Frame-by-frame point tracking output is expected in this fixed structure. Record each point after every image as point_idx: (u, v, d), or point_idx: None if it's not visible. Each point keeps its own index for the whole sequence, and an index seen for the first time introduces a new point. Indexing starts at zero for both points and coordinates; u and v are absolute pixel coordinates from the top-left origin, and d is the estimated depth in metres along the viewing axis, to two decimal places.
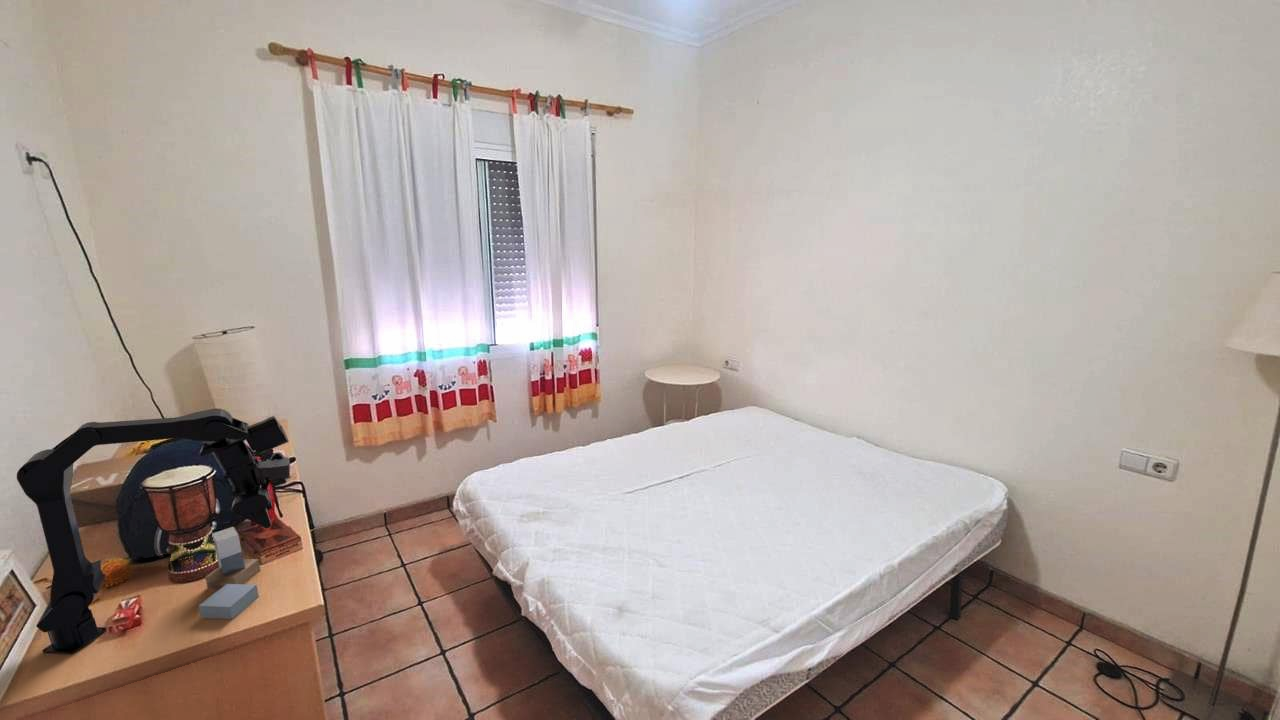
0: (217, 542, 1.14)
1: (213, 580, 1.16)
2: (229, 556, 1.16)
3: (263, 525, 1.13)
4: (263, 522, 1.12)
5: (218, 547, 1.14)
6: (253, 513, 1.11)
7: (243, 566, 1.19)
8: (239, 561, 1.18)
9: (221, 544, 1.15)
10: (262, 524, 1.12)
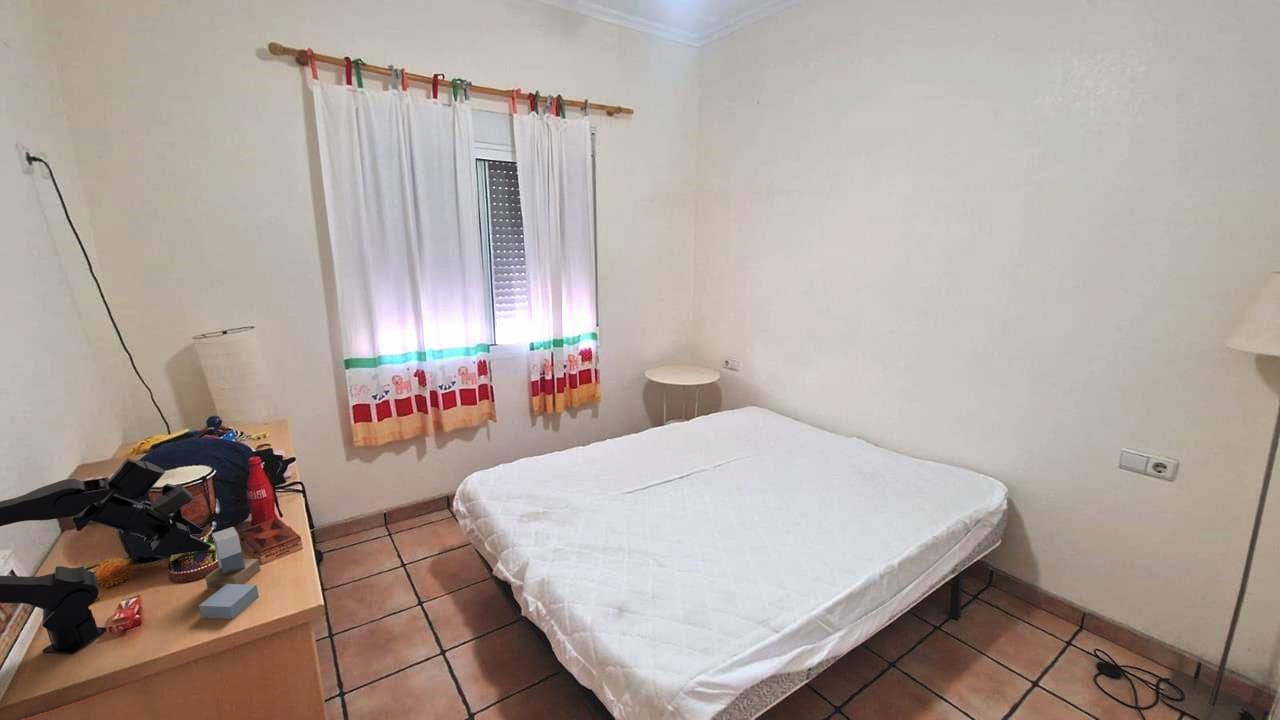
0: (217, 542, 1.14)
1: (213, 580, 1.16)
2: (229, 556, 1.16)
3: (202, 549, 1.10)
4: (200, 547, 1.10)
5: (218, 547, 1.14)
6: (182, 546, 1.07)
7: (243, 566, 1.19)
8: (239, 561, 1.18)
9: (221, 544, 1.15)
10: (200, 549, 1.10)
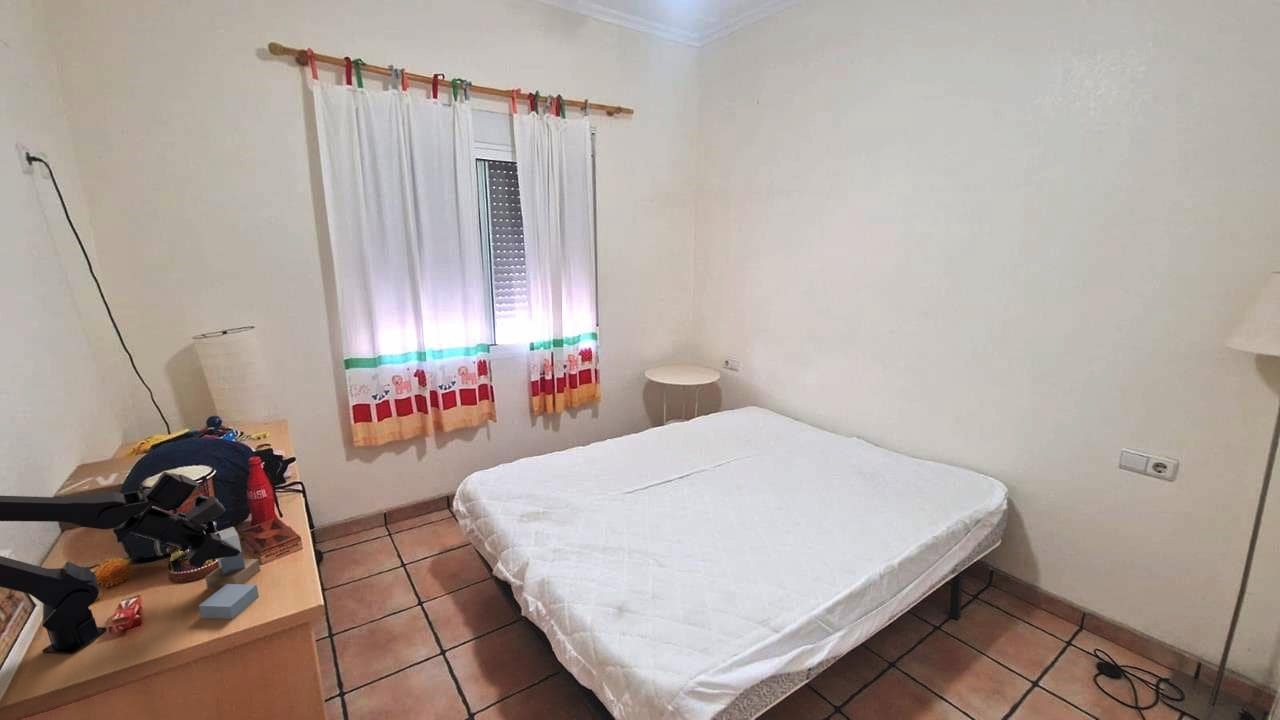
0: None
1: (213, 580, 1.16)
2: None
3: (232, 555, 1.16)
4: (230, 553, 1.15)
5: None
6: (214, 552, 1.13)
7: (243, 566, 1.19)
8: (239, 561, 1.18)
9: None
10: (230, 555, 1.16)
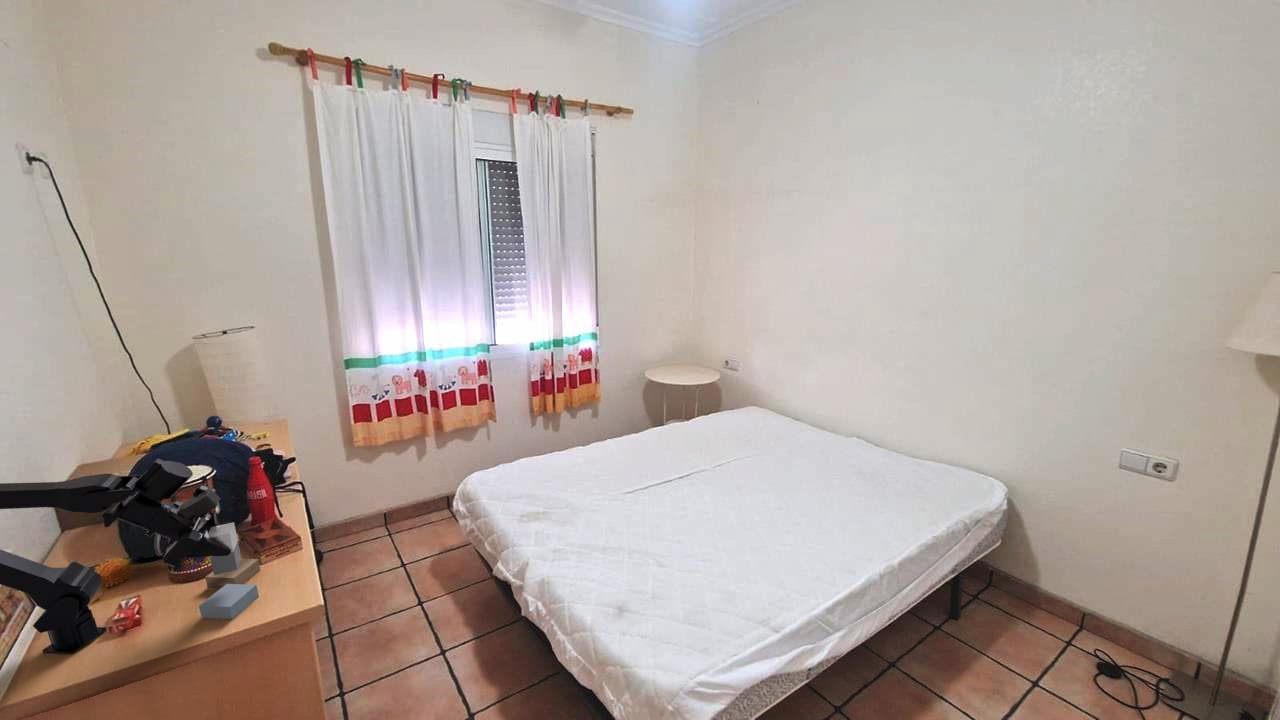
0: None
1: (213, 580, 1.16)
2: None
3: (221, 554, 1.08)
4: (218, 552, 1.07)
5: None
6: (200, 549, 1.05)
7: (235, 567, 1.10)
8: (231, 561, 1.10)
9: None
10: (219, 554, 1.08)
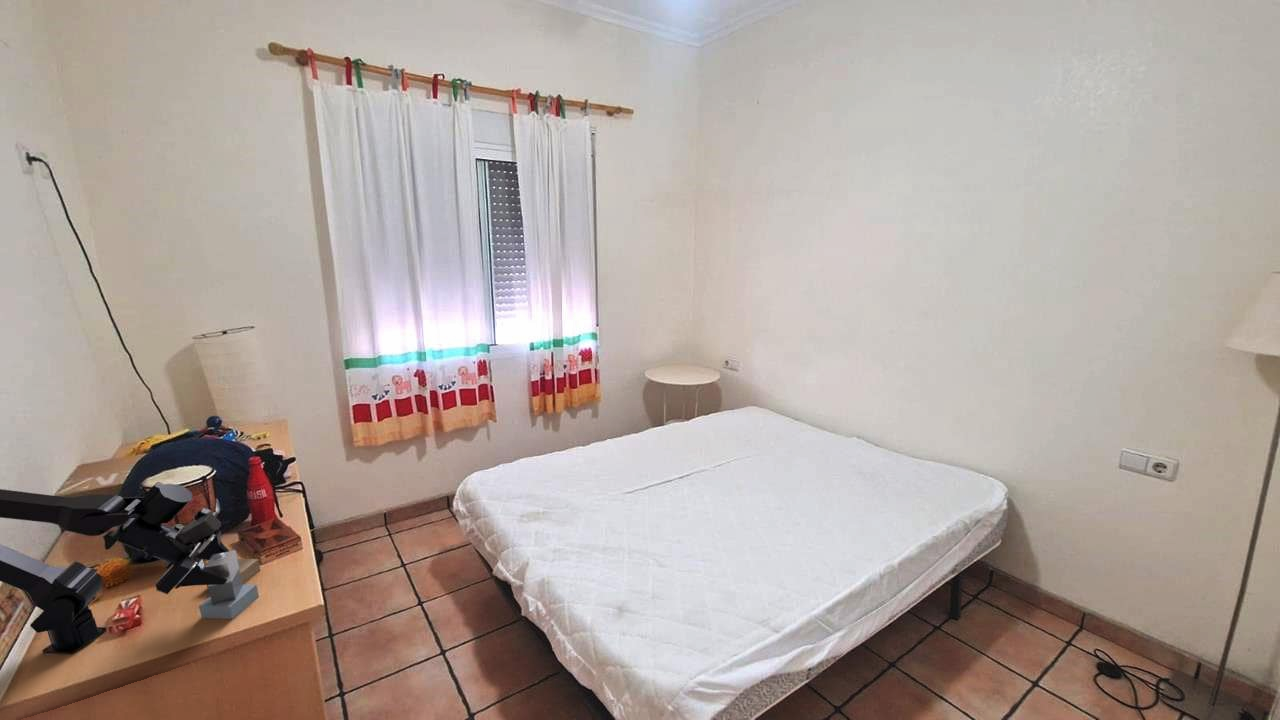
0: None
1: None
2: (217, 585, 1.07)
3: (217, 583, 1.05)
4: (214, 581, 1.05)
5: None
6: (195, 578, 1.03)
7: (233, 597, 1.08)
8: (229, 591, 1.08)
9: None
10: (215, 583, 1.05)
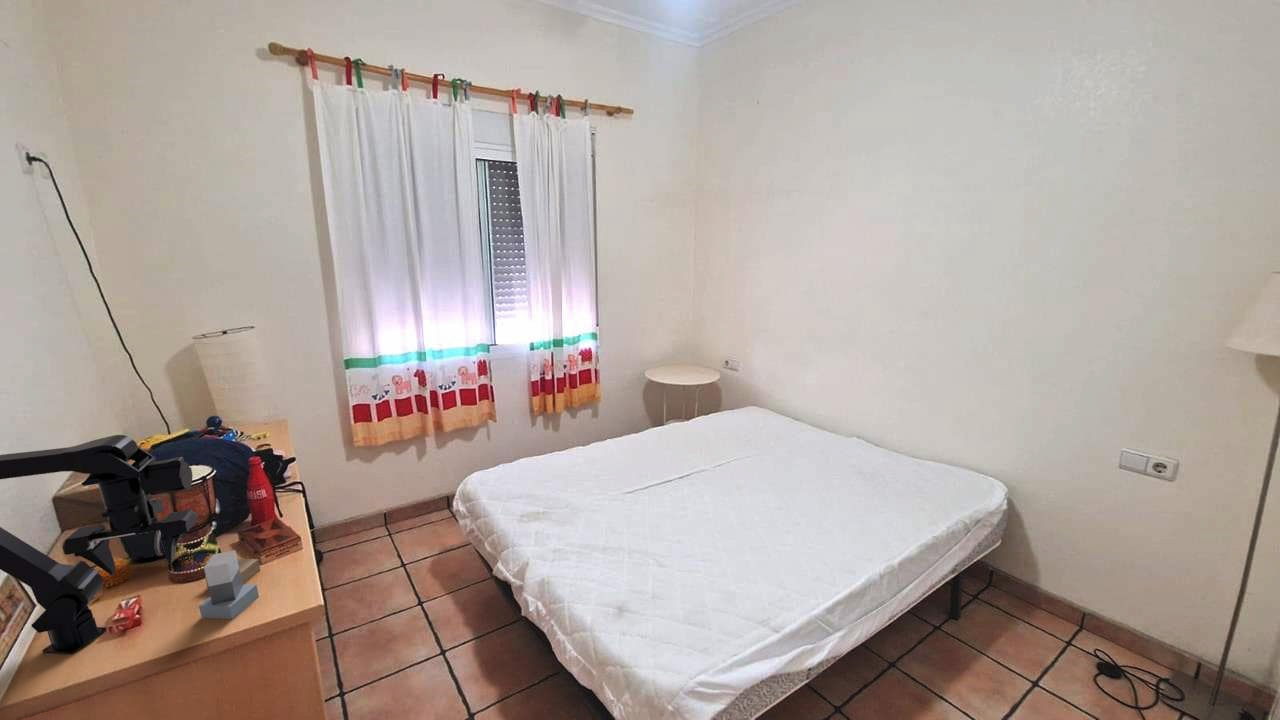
0: (205, 568, 1.05)
1: None
2: (217, 585, 1.07)
3: (172, 558, 1.05)
4: (173, 553, 1.05)
5: (206, 573, 1.05)
6: None
7: (233, 597, 1.08)
8: (229, 591, 1.08)
9: (209, 571, 1.05)
10: (172, 556, 1.05)
